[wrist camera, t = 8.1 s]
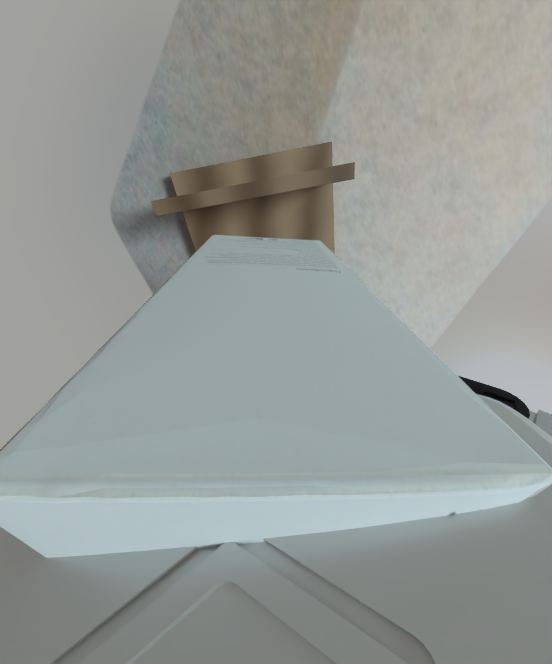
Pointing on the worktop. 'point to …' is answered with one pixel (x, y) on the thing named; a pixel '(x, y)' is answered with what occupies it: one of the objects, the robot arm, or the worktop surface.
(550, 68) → the worktop surface
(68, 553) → the small box
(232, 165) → the book rack
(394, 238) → the worktop surface
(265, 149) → the worktop surface
